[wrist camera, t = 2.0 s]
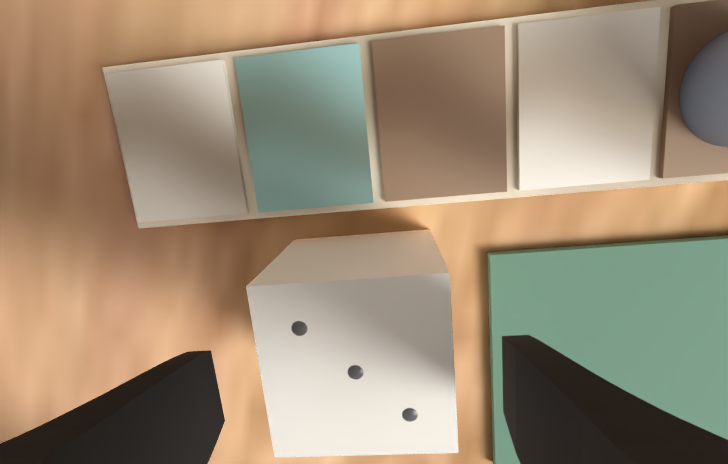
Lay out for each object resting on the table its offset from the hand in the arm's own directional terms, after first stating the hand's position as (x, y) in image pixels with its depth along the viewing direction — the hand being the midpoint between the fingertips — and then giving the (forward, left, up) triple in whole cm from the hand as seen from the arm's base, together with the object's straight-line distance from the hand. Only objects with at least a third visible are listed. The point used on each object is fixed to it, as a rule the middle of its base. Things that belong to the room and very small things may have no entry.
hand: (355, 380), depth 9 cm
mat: (-3, -9, -5) cm, 11 cm away
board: (+6, -3, -5) cm, 9 cm away
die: (0, 0, -6) cm, 6 cm away
